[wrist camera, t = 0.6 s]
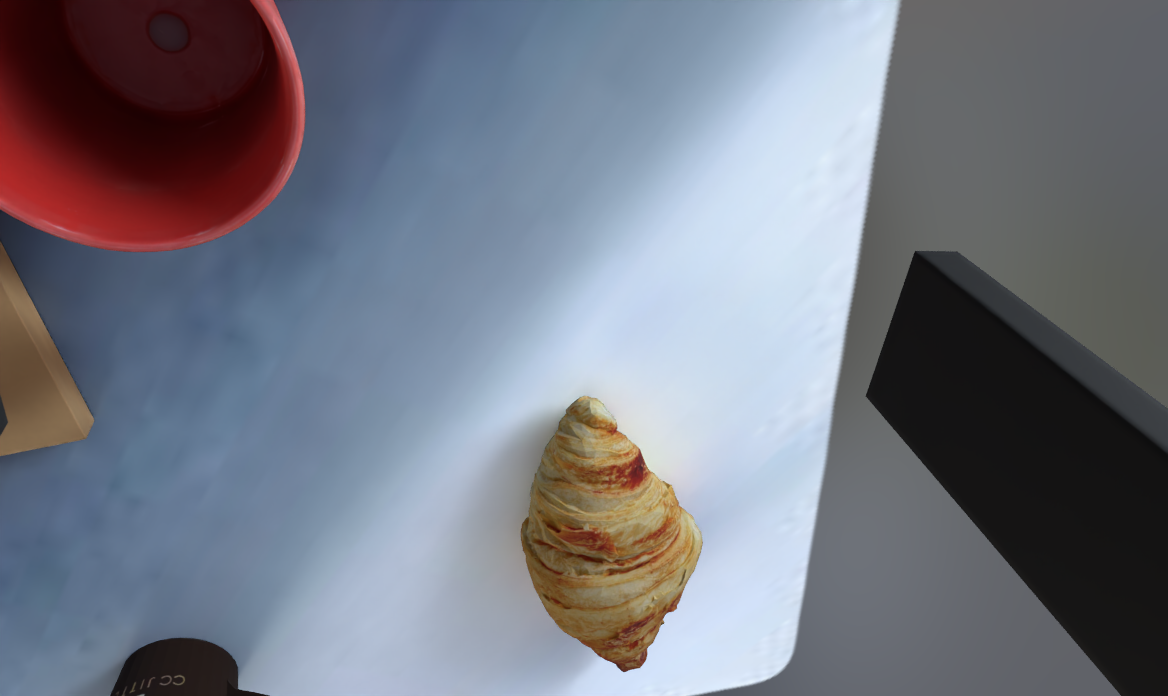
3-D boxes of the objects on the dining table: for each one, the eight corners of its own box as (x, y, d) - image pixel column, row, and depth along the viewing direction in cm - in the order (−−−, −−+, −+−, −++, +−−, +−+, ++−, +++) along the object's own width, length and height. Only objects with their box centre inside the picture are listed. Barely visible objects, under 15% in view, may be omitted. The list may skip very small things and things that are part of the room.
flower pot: (229, 206, 37) (191, 316, 29) (-47, 39, 32) (-187, 117, 24) (372, 6, 34) (374, 66, 26) (95, -215, 29) (-10, -225, 21)
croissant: (515, 361, 48) (461, 454, 42) (691, 366, 45) (661, 467, 39) (576, 610, 60) (541, 713, 53) (720, 628, 57) (701, 739, 50)
